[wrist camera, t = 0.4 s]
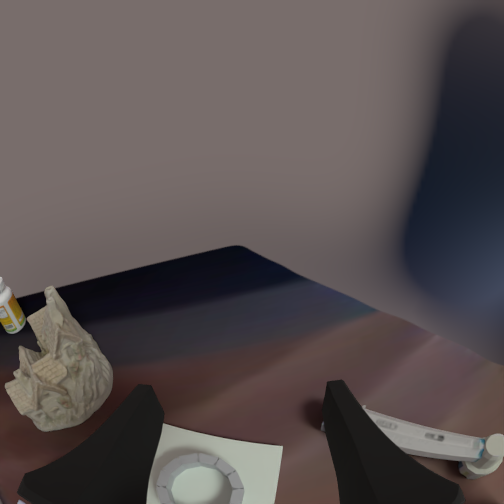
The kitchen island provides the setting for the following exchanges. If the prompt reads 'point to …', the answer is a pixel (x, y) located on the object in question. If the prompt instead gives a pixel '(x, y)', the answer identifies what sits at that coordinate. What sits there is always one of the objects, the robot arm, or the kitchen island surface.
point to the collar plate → (212, 470)
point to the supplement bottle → (10, 310)
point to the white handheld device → (443, 444)
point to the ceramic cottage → (60, 370)
